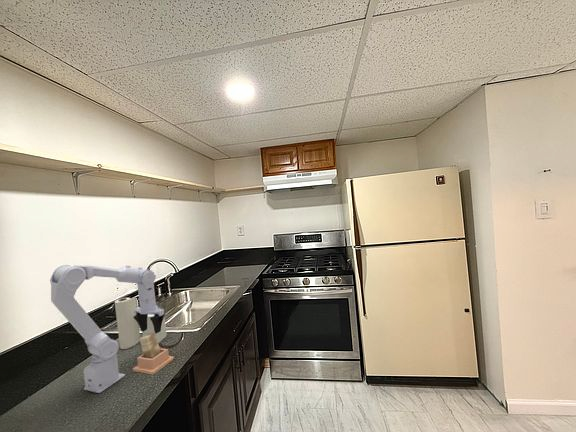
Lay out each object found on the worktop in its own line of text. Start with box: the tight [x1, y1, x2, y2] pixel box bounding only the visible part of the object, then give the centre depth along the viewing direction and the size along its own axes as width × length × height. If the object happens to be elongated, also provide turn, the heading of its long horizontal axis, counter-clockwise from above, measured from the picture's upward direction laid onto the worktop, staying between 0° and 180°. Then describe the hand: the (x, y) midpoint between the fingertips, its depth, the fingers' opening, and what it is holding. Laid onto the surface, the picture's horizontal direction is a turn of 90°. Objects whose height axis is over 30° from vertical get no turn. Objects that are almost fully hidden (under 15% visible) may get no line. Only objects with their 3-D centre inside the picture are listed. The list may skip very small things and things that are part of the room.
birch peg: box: [139, 333, 161, 359], centre depth 103 cm, size 4×4×10 cm
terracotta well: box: [132, 347, 175, 376], centre depth 103 cm, size 10×10×4 cm
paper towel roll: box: [114, 296, 141, 350], centre depth 120 cm, size 7×6×21 cm
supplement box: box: [141, 314, 168, 344], centre depth 124 cm, size 7×7×13 cm
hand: (151, 331), depth 109 cm, fingers open, 7 cm apart
